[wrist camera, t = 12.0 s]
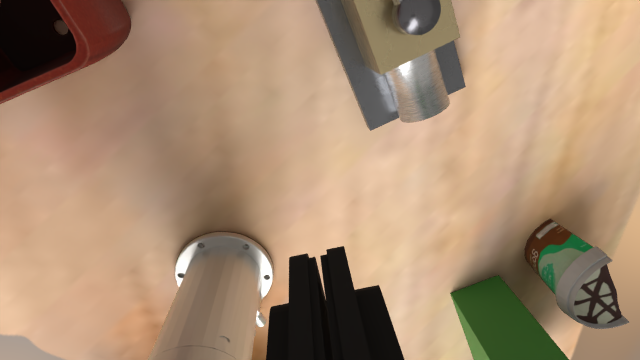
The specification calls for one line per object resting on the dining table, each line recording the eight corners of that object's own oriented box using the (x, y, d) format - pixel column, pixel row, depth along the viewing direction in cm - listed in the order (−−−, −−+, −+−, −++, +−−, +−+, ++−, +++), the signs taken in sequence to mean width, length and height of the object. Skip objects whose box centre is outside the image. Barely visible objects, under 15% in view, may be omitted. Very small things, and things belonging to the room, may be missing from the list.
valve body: (459, 84, 37) (505, 100, 29) (367, 126, 39) (387, 153, 31) (401, -130, 29) (442, -189, 21) (287, -68, 30) (286, -101, 23)
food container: (504, 232, 46) (556, 283, 37) (547, 210, 45) (611, 257, 36) (529, 289, 51) (581, 346, 42) (569, 271, 50) (630, 324, 41)
